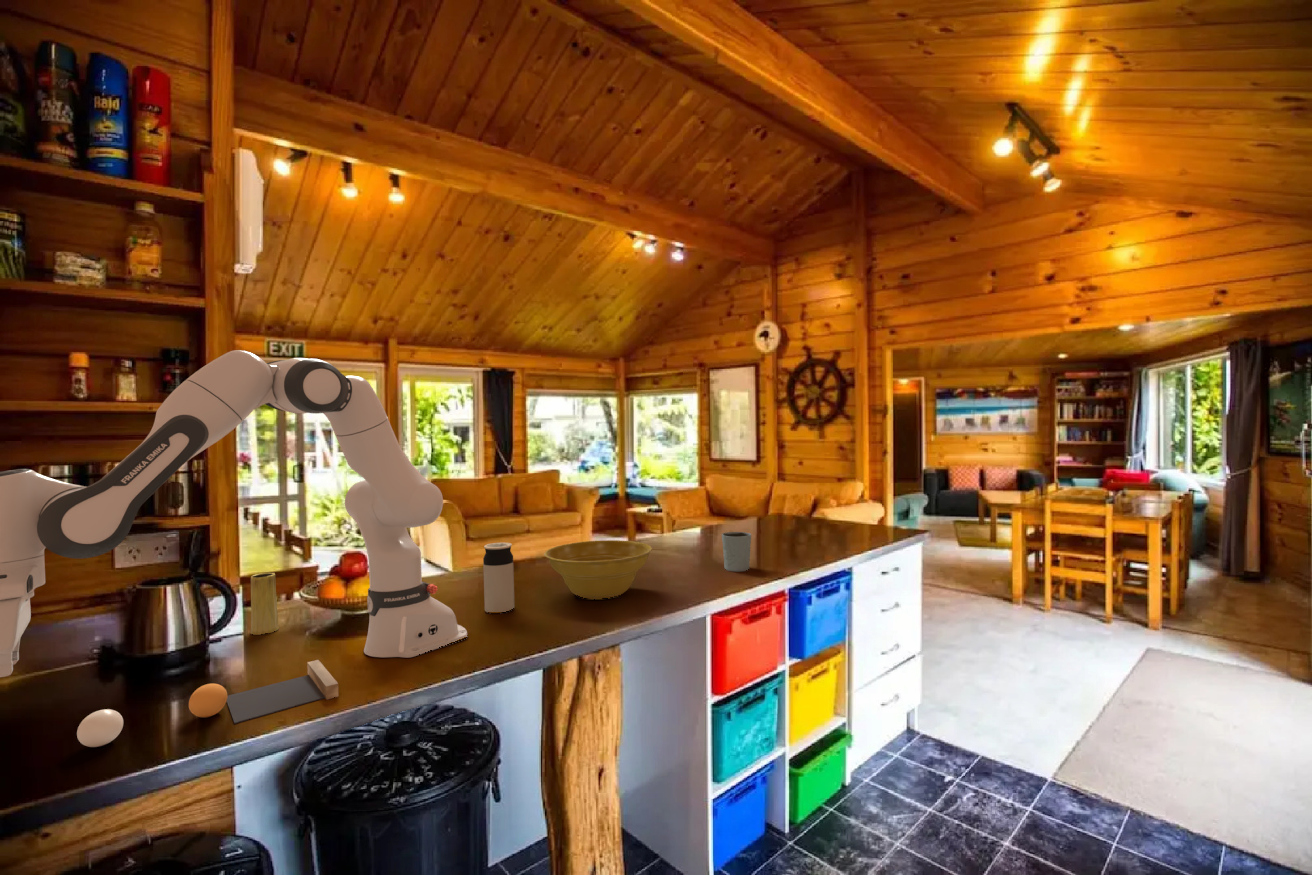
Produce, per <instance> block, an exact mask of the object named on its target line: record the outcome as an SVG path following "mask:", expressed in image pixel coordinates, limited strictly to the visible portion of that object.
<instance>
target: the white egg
mask: <svg viewBox="0 0 1312 875" xmlns="http://www.w3.org/2000/svg"><path fill="white" fill-rule="evenodd" d="M123 727H124V718H123V716H122V715H121V713H120V712H118V711H117V710H114V709H110V708H107V709H105V708H104V709H100V710H96V711H93V712H92V713H89V715H87V716H86V717H85V718H84V719H82V721H81V722H80V723H79V726H78V727H77V731H76V736H77V740H78V742H80V744H81V745H83V746H86V747H89V748H97V747H102V746H105V745H107V744H109V743H111V742H112V741H114V740H115V739H116V738H117V737H118V736H119V735H120V733H121V731H122V730H123Z"/></svg>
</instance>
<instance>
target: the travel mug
mask: <svg viewBox="0 0 1312 875" xmlns="http://www.w3.org/2000/svg"><path fill="white" fill-rule="evenodd" d="M512 546H513V544H512V543H511V542H493V543H487V544H485V545H484V546H483V548H484V549H485V550H484V551H485V553H484V555H483V562H482V563H483V589H484V590H483V595H484V596H483V597H484V598H483V599H484V611H485V612H486V613H488V612H506V611H509V610H511V609H513V608H514V609H515V582H514V581H515V580H514V579H515V575H514V572H515V571H514V570H515V569H514V554H513V553H512V552H511V548H512ZM514 609H513V610H514ZM511 611H512V610H511ZM509 612H510V611H509ZM506 613H507V612H506Z"/></svg>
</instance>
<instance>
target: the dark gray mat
mask: <svg viewBox="0 0 1312 875" xmlns="http://www.w3.org/2000/svg"><path fill="white" fill-rule="evenodd" d="M323 699H326V698H325V696H324V695H323V693H322V692H321V691H320V689H319V688H318V687H317V685H316V684H315V682H314V681H313V680H312V678H311V677H310V676H309V675H308V674H307V675H304V676H298V677H295V678H292V679H287V680H284V681H280V682H276V683H271V684H267V685H264V686H263V685H262V686H260V687H256V688H252V689H249V690H248V689H247V690H245V691H240V692H236V693H233V694H229V695H228V694H227V701H226V704H227V707H228V710H229V712H230V715H231V718H232V720H233V724H234V725H236V724H238V723H243V722H246V721H250V720H253V719H257V718H260V717H263V716H267V715H270V714H273V713H277V712H281V711H285V710H288V709H291V708H294V707H295V706H296V707H298V706H302V705H303V706H304V705H305V704H309V703H312V702H317V701H321V700H323ZM249 719H250V720H249Z"/></svg>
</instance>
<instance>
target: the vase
mask: <svg viewBox="0 0 1312 875" xmlns="http://www.w3.org/2000/svg"><path fill="white" fill-rule="evenodd" d="M276 585H277V584H276V574H275V572H263V573H257V574H254V575H251V576H250V608H251V611H250V612H251V613H250V614H251V616H250V617H251V618H250V635H252V634H253V636H261V634H263V635H266V634H265V633H268V634H272V633H274V631H275V632H277V631H278V630H279V629H280V626H279V615H278V612H279V611H278V601H277V592H276V591H277V589H276Z"/></svg>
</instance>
